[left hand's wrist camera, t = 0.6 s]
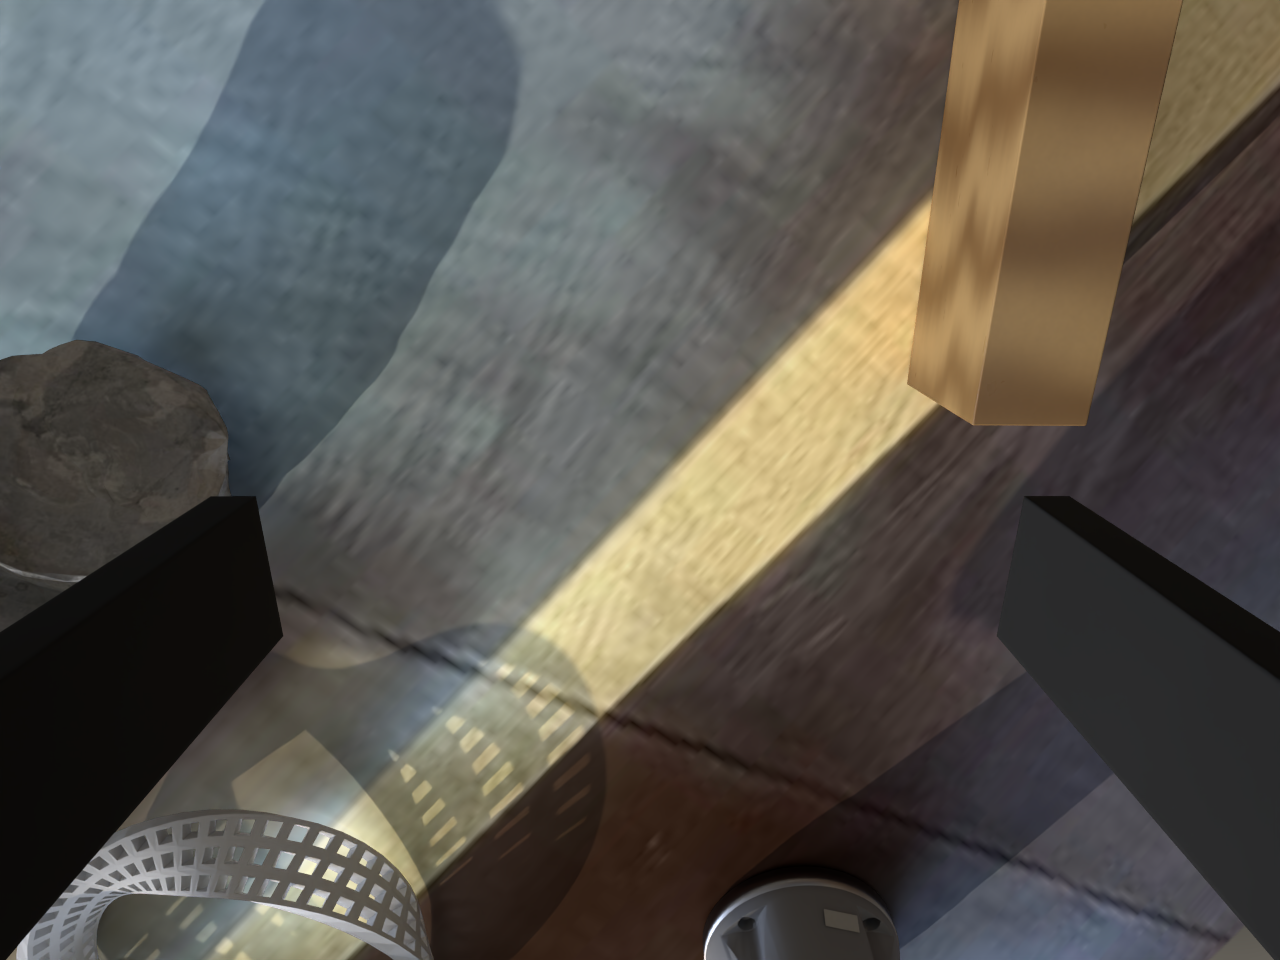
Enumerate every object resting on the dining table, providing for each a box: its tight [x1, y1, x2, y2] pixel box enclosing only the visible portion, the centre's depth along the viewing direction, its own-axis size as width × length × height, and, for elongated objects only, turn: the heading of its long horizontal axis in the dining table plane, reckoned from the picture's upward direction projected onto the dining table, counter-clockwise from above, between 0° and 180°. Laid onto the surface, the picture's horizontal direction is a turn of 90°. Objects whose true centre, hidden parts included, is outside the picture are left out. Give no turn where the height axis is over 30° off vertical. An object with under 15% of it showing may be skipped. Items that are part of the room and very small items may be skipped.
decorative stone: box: [0, 340, 231, 632], centre depth 41 cm, size 32×15×10 cm, turn 141°
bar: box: [907, 0, 1183, 426], centre depth 33 cm, size 28×6×9 cm, turn 0°
